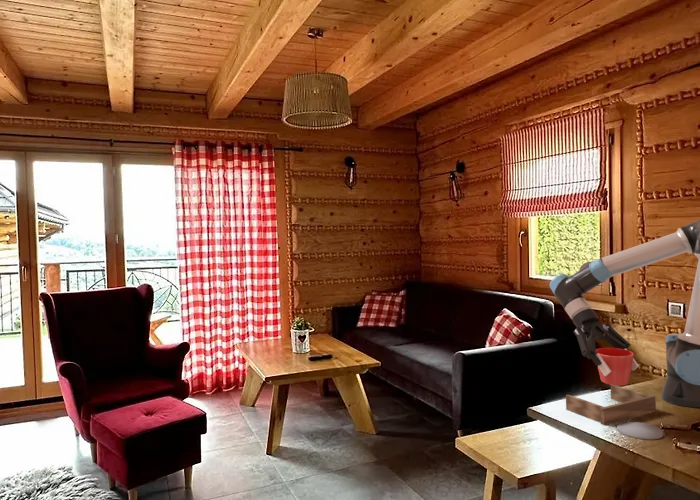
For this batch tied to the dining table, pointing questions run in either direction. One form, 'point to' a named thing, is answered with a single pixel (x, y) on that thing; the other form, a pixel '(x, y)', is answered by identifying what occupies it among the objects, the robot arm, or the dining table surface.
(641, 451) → the dining table surface
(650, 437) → the slate mat
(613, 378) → the flower pot
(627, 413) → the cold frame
